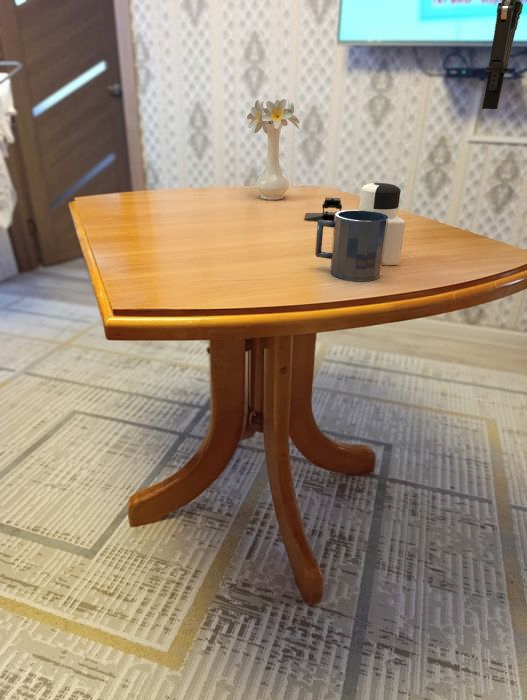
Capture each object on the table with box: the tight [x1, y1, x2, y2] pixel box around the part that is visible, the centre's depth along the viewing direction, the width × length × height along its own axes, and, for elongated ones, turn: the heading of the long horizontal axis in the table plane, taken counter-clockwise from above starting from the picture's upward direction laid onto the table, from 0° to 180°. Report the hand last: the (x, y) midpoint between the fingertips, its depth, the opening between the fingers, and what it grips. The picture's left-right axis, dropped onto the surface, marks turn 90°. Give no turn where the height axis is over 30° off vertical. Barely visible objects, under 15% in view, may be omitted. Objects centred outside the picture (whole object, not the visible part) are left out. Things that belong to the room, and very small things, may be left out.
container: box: [358, 182, 406, 266], centre depth 89 cm, size 8×8×13 cm
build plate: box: [304, 196, 343, 222], centre depth 120 cm, size 12×7×5 cm, turn 84°
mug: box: [314, 209, 389, 283], centre depth 82 cm, size 11×8×10 cm
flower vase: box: [246, 98, 300, 201], centre depth 137 cm, size 13×18×25 cm
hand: (489, 108), depth 102 cm, fingers closed
